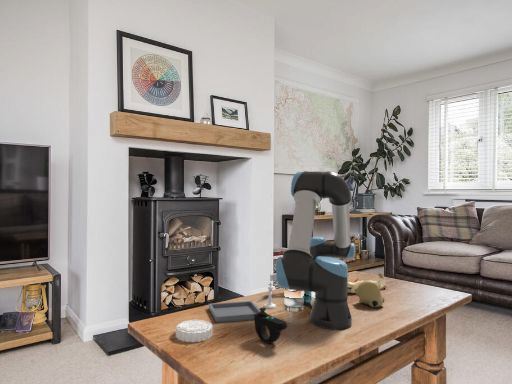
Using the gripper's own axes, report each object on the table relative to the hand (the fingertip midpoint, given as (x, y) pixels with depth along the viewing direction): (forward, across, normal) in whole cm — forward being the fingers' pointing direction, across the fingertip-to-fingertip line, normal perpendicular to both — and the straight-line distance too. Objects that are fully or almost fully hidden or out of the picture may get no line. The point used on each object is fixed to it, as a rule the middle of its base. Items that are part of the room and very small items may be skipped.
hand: (283, 280), depth 160 cm
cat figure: (-40, -21, -10) cm, 47 cm away
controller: (+40, -21, -8) cm, 46 cm away
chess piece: (+10, 0, -9) cm, 14 cm away
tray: (+26, +5, -8) cm, 28 cm away
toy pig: (-20, -31, -9) cm, 38 cm away
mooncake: (+51, +2, -9) cm, 52 cm away
